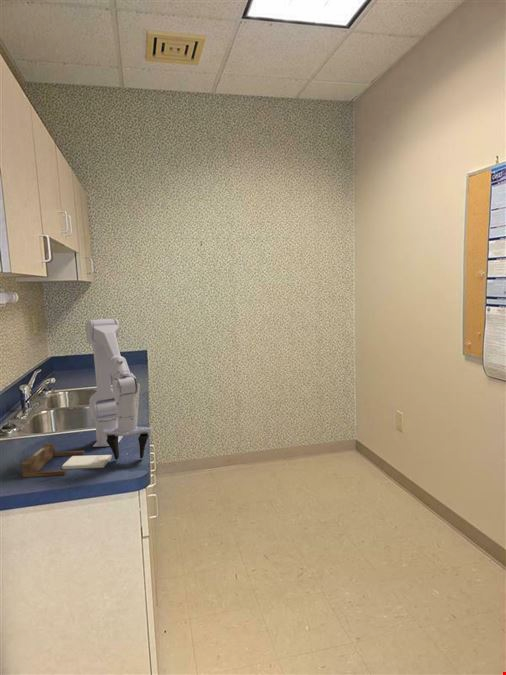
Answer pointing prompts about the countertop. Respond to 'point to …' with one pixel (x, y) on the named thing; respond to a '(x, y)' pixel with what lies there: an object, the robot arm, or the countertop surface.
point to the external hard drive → (87, 462)
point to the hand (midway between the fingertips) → (129, 457)
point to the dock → (44, 461)
